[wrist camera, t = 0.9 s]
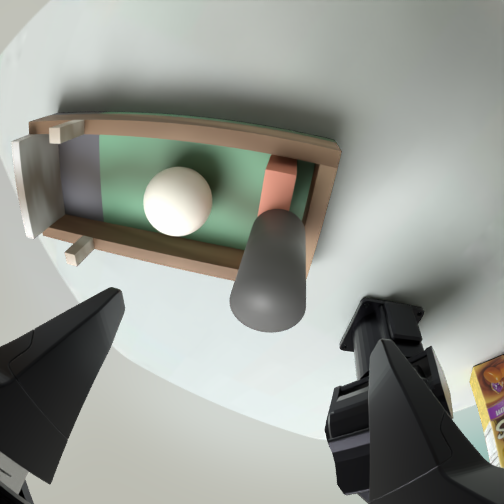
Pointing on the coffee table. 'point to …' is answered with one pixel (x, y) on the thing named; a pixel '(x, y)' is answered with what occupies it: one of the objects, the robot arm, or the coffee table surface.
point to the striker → (273, 257)
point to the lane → (150, 164)
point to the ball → (177, 201)
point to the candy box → (491, 405)
